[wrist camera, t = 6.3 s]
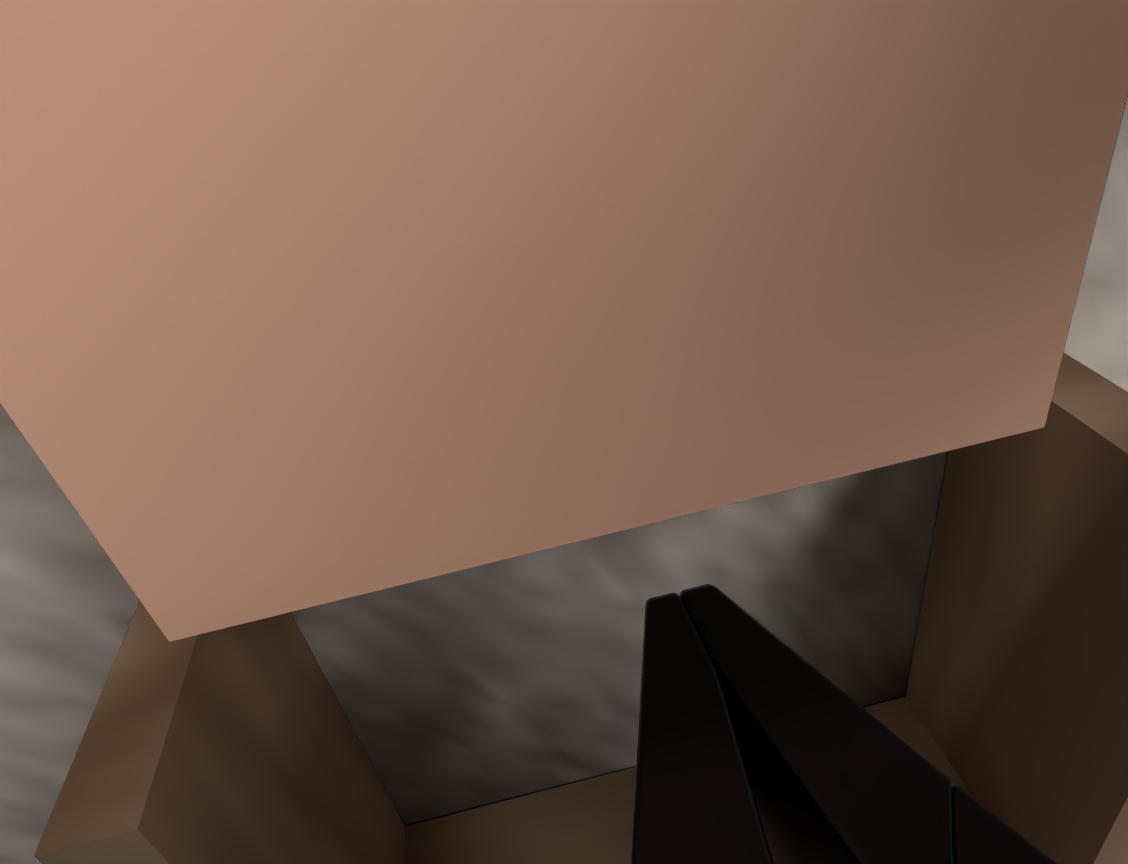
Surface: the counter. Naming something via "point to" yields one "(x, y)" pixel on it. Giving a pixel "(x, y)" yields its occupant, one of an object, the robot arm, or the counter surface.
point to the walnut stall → (606, 803)
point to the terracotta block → (522, 265)
